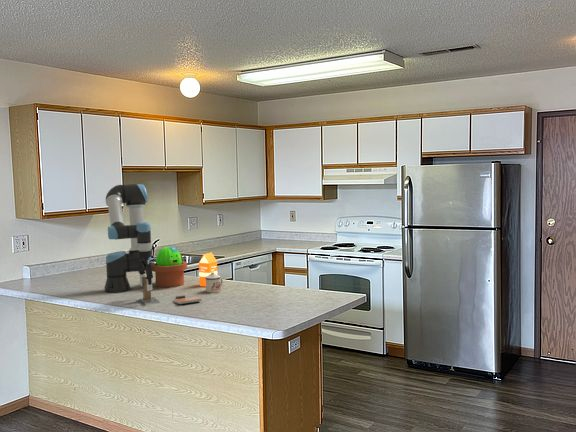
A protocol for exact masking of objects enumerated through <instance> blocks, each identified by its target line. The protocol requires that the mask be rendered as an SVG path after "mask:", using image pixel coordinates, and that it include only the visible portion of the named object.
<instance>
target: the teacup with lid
mask: <svg viewBox="0 0 576 432" xmlns="http://www.w3.org/2000/svg"><path fill="white" fill-rule="evenodd" d="M205 279H206V286H205V292H207V293H214V294H219V293H221V291H222V289H221V286H222V285H223V283H224V279H223V278H221V275H219V274H217V275H216V274H214V272H211V274H210V275H208V276H206V277H205Z"/></svg>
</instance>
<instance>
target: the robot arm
mask: <svg viewBox="0 0 576 432" xmlns="http://www.w3.org/2000/svg"><path fill="white" fill-rule="evenodd" d="M148 202H149V201H148V192H147V189H146V186H145V185H144V184H142V183H141V184H140V183H136V184H135V183H133V184H117V185H115V186H113V187H112V188H111V189H110V190H108V192H107V193H106V196H105V204H106V206H107V207H108V214H109V215H108V217H109V226H108V227H107V238H108V240H115V241H117V240H126V239H130V248H129V250H128V253H126V251H125V250H120V251H114V252H110V253H108V254H107V255H106V257H105V266H106V281H105V283H104V292H106V293H121V292H127V291H129V290H131V284H130V282H129V280H128V276H127V273H134V272H138V274H139V283H140V287H143V285H142V277H147V278H146V279H147V291H149V290H151V291H153V278H154V276H153V275H154V274H153V271H152V268H151V264H152V257H153V256H152V254H153V252H152V236H151V235H152V234H151V230H152V227H151V223H150V222H147V221H146V222H145V218H144V217H145V216H144V214H145V213H144V208H145V207H146V203H148ZM122 204H125V205H126V206H125V207H126V208H127V209H128V211H129V212H128V215H129V224H128V225H125V220H124V213H123V208H122Z"/></svg>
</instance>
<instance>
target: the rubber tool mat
mask: <svg viewBox="0 0 576 432" xmlns="http://www.w3.org/2000/svg"><path fill="white" fill-rule="evenodd" d="M134 301H135V303H138V304H139V305H140V306H141V307H147V304H146V305H145V304H144V303H142V302H141V301H139V299H138V300H137V299H136V300H134Z"/></svg>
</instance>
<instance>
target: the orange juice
mask: <svg viewBox="0 0 576 432" xmlns="http://www.w3.org/2000/svg"><path fill="white" fill-rule="evenodd" d="M198 272H199V275H198V276H199V286H200V287H206V279H205V277H206V276H208V275H210V274H211V272H214V274H216V275H218V261H217V259H216V257H215V256H214V254H213V252H208V253H204V254H203V255H202V257H201V258H200V260H199V262H198Z"/></svg>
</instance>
